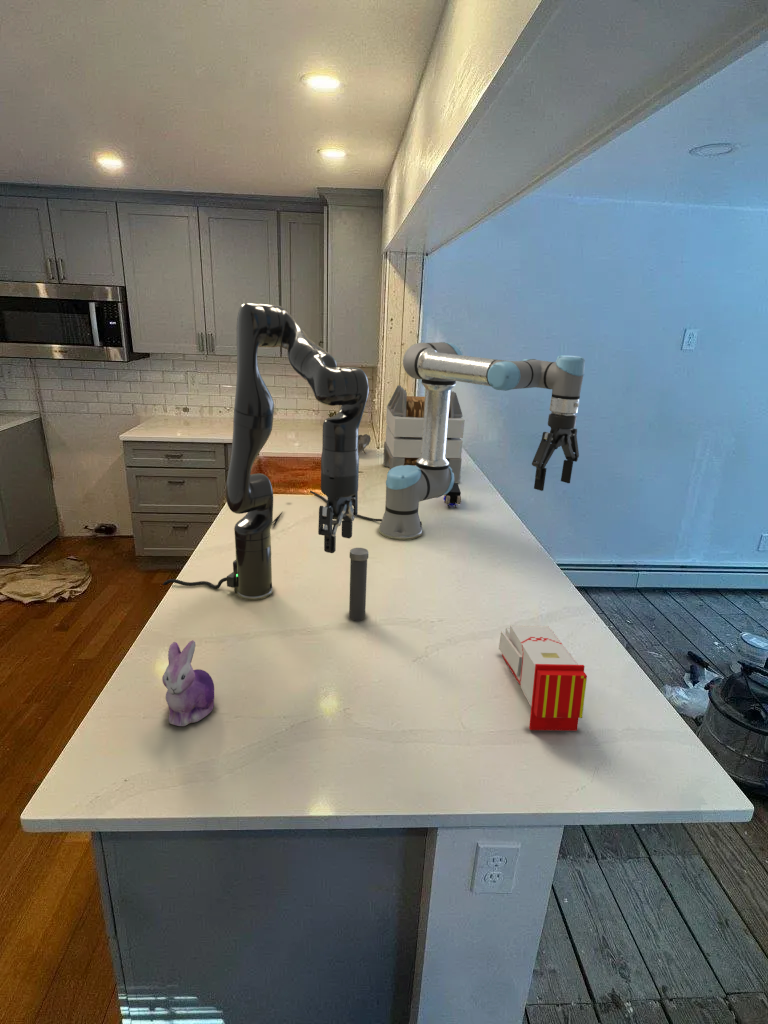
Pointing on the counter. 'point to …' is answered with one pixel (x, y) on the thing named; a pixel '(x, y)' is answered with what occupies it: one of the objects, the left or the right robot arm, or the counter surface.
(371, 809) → the counter surface
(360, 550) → the lid
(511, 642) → the toy
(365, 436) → the fossil
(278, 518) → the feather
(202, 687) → the figurine
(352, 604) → the dark gray cylinder
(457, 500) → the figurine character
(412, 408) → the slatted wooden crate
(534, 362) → the right robot arm
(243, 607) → the counter surface
